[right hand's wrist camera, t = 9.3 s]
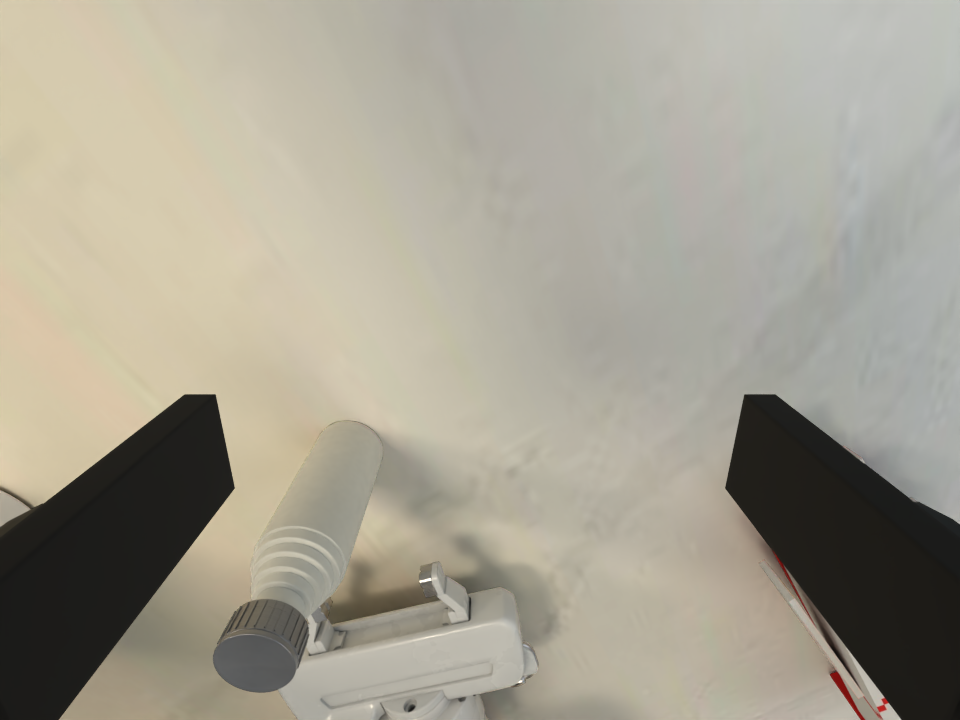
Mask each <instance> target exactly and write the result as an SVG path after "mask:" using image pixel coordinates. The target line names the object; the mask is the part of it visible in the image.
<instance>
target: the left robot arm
mask: <svg viewBox="0 0 960 720" xmlns="http://www.w3.org/2000/svg"><path fill="white" fill-rule="evenodd" d="M29 510H31V509H30V508H29V507H28V506H26V505H25V504H23V503H22V502H21V501H19V500H18V499H16V498H14V497H13V496H11V495H9V494H7V493H5V492H4V491H1V490H0V527H1V526H2V525H4V524H5V523H6V522H8V521H9V520H11V519H13V518H15V517H17V516H19V515H21V514H23V513H25V512H27V511H29ZM420 571H421V573H420V574H419V581H420V585H421V587H422V588H423V592H424V595H425V597H426V598H427V597H432V596H436V597H438V598H439V599H440V600H438V601H434V602H429V603H425V604H420V605H416V606H412V607H407V608H403V609H398V610H394V611H389V612H385V613H380V614H376V615H371V616H367V617H362V618H358V619H353V620H349V621H345V622H340V623H336V624H331V623H330V621H329V619H327V618H328V615H329V612H328V611H329V610H330V609H331V606H332V603H333V601H332V599H331V597H329V598H328V599H326V600H325V602H324V603H322V604H321V605H320V606H319V607H318V608H317V609H316V611H314V612H313V613H312V614H311V615H309V616H308V618H307V620H308V622H309V624H308V627H309V634H310V636H309V638H308V643H307V645H306V648H305V651H304V654H303V657H302V660H301V662H300V665H299V668H298V669H297V670H296V672H295V675H294V677H293V679H292V680H291V681H290V682H289V683H288V684H287V685H286V686H284V687H283V688H281V689H278V691H279V693H280V694H281V696H282V698H283V699H284V701H285V702H286V704H287V705H288V707H289V708H290V710H291V711H292V712H293V714H294V715H295V716H296V718H297V719H298V720H489V719H488V718H487V716H486V714H485V708H484V704H483V701H482V698H481V696H480V694H483V693H488V692H492V691H496V690H499V689H504V688H508V687H517V686H520V685H523V684H525V683H526V679H527V678H530V677H531V676H533V675H534V674H535V673H536V672H537V670H538V660H537V657H536V654H535V651H534V649H533V647H532V646H531V645H530V644H529V643H528V642H526V641H524V640H522V632H521V623H520V617H519V611H518V607H517V603H516V599H515V596H514V594H513V593H511V592H510V591H508V590H506V589H504V588H502V587H496V588H492V589H487V590H483V591H479V592H474V593H470V594H467V592H466V589H465V587H463V586H462V585H460V584H459V583H457V582H456V581H454V580H453V579H451V578H450V577H448V576H445V574H444V571H443V569H442V566H441V564H440V562H435V563H431V564H427V565H423V566H421V567H420Z"/></svg>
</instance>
